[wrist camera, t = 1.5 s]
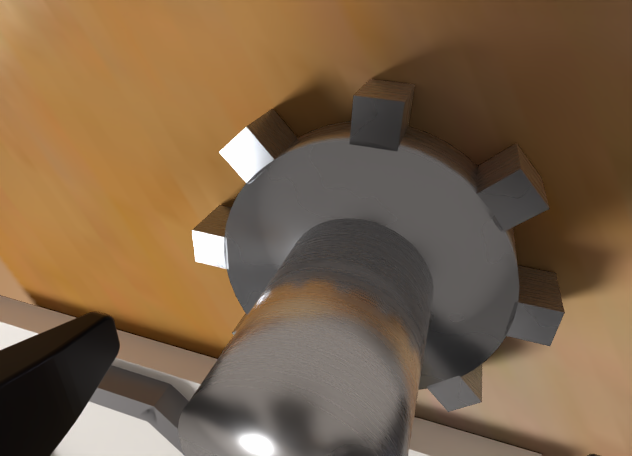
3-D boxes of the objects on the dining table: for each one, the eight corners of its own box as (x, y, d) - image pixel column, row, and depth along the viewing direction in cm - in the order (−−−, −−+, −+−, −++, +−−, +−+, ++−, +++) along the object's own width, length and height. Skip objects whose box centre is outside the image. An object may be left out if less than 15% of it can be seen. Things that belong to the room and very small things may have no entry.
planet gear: (620, 108, 9) (819, 328, 4) (502, 408, 14) (513, 698, 8) (208, 60, 11) (-49, 151, 6) (229, 332, 16) (97, 523, 10)
